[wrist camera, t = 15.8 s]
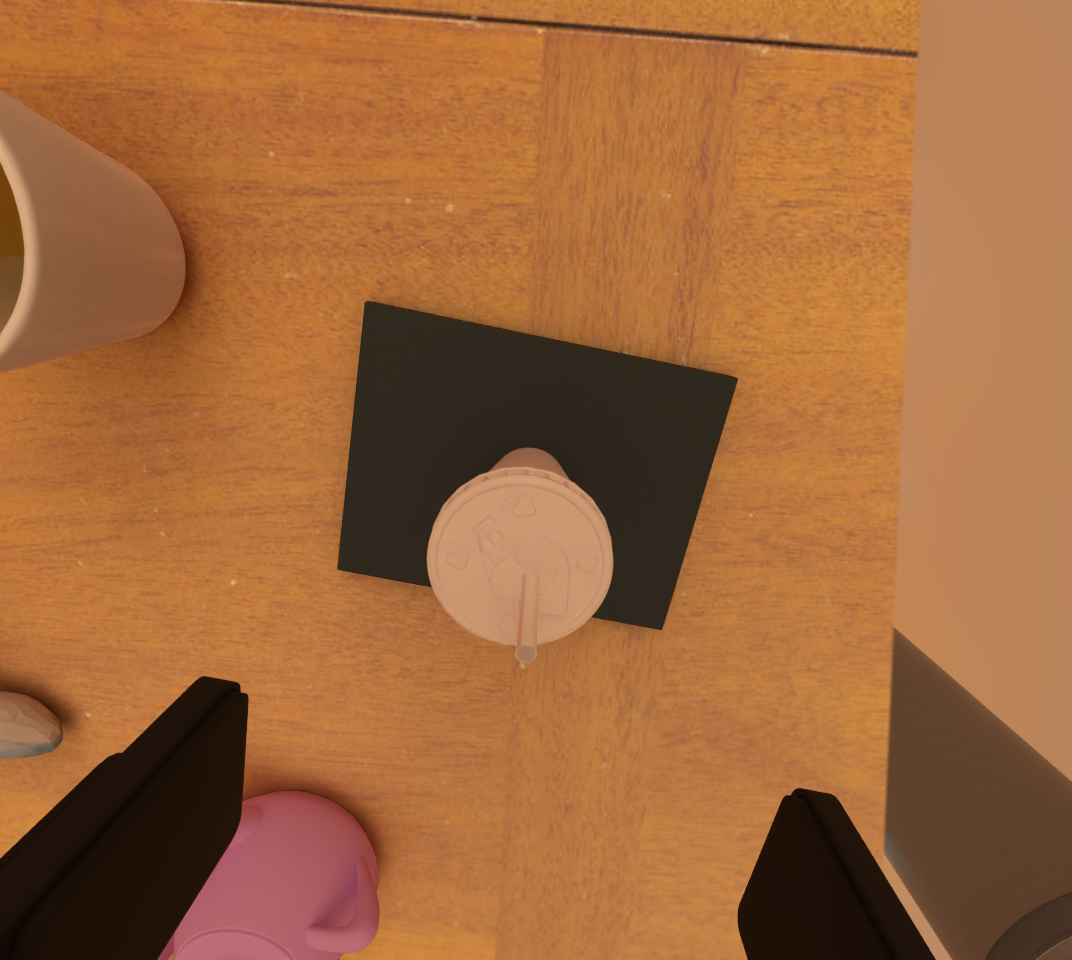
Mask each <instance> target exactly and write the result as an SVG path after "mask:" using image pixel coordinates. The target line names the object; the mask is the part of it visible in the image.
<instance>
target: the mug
mask: <svg viewBox="0 0 1072 960" xmlns="http://www.w3.org/2000/svg"><path fill="white" fill-rule="evenodd" d="M185 270H186V263H185V253H184V248H183V243H182V240H181V237H180V234H179V231H178V228H177V226H176V224H175V222H174V220H173V218H172V216H171V214H170V212H169V210H168V209H167V207H166V205H165V204H164V202H163V201H162V199H161V198H160V197H159V195H158V194H157V193H156V192H155V191H154V190H153V188H152V187H151V186H150V185H149V184H147V183H146V182H145V181H144V180H143V179H142V178H141V177H140V176H138V175H137V174H136V173H135V172H133V171H132V170H131V169H129V168H128V167H126V166H124V165H123V164H121V163H119V162H118V161H116V160H114V159H113V158H111V157H109V156H107V155H106V154H104V153H102V152H101V151H99V150H97V149H95V148H94V147H92V146H90V145H89V144H87V143H85V142H84V141H82V140H81V139H79V138H77V137H76V136H74V135H72V134H71V133H69V132H68V131H66V130H64V129H63V128H61V127H59V126H58V125H56V124H54V123H53V122H51V121H50V120H48V119H46V118H45V117H43V116H41V115H40V114H38V113H37V112H35V111H33V110H32V109H30V108H28V107H27V106H25V105H24V104H22V103H20V102H19V101H17V100H16V99H14V98H12V97H11V96H9V95H8V94H6V93H4V92H3V91H1V90H0V373H3V372H7V371H11V370H15V369H19V368H23V367H27V366H31V365H34V364H38V363H42V362H45V361H49V360H52V359H56V358H60V357H64V356H68V355H72V354H76V353H79V352H83V351H87V350H91V349H94V348H98V347H102V346H106V345H110V344H113V343H117V342H122V341H126V340H130V339H134V338H137V337H140V336H142V335H145V334H147V333H149V332H151V331H153V330H154V329H156V328H157V327H159V326H160V325H161V324H162V323H163V322H164V321H165V320H166V319H167V318H168V317H169V316H170V315H171V313H172V312H173V311H174V309H175V307H176V305H177V304H178V302H179V299H180V297H181V294H182V291H183V287H184V282H185Z"/></svg>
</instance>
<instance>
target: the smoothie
mask: <svg viewBox="0 0 1072 960" xmlns="http://www.w3.org/2000/svg"><path fill="white" fill-rule="evenodd" d="M427 568H428V575H429V579H430V583H431V586H432V588H433V591H434V593H435V595H436V597H437V599H438V601H439V602H440V604H441V605H442V607H443V608H444V609H445V611H446V612H447V613H448V614H449V615H450V616H451V617H452V618H453V619H454V620H455V621H456V622H457V623H458V624H459V625H461V626H462V627H463V628H465V629H466V630H468V631H469V632H471V633H473V634H475V635H477V636H479V637H481V638H483V639H486V640H488V641H492V642H495V643H499V644H504V645H511V646H516V651H515V655H516V658H517V659H518V660H519V661H520V662H523V663H529V662H532V661H533V660H534V659H535V658H536V655H537V645H540V644H544V643H548V642H551V641H555V640H557V639H560V638H562V637H564V636H566V635H568V634H570V633H572V632H573V631H575V630H576V629H578V628H579V627H581V626H582V625H583V624H584V623H586V622H587V621H588V620H589V619H590V618H591V617H592V615H593V614H594V613H595V612H596V611H597V609H598V608H599V606H600V605H601V604H602V602H603V600H604V598H605V596H606V594H607V591H608V589H609V586H610V583H611V579H612V573H613V551H612V540H611V536H610V533H609V530H608V527H607V523H606V520H605V518H604V516H603V514H602V513H601V511H600V510H599V508H598V507H597V505H596V504H595V502H594V501H593V499H592V498H591V497H590V496H589V495H588V494H586V493H585V492H584V491H583V490H582V489H581V488H580V487H579V486H577V485H576V484H575V483H574V482H572V481H570V480H569V478H568V477H567V475H566V473H565V472H564V470H563V469H562V467H561V466H560V464H559V463H558V462H557V460H556V459H555V458H554V457H553V456H551V455H550V454H549V453H547V452H545V451H543V450H540V449H536V448H520V449H517V450H514V451H512V452H510V453H508V454H507V455H505V456H504V457H503V458H502V459H501V460H500V461H499V462H498V463H497V464H496V465H495V466H494V467H493V468H492V469H491V470H490V471H489V472H487V473H484V474H480V475H478V476H477V477H475V478H473V479H472V480H470V481H469V482H467V483H466V484H464V485H462V486H461V487H459V488H458V489H457V490H456V491H455V493H454V494H453V495H452V496H451V497H450V498H449V499H448V500H447V501H446V502H445V504H444V505H443V506H442V508H441V511H440V513H439V515H438V517H437V519H436V521H435V523H434V525H433V530H432V533H431V536H430V539H429V544H428V549H427Z"/></svg>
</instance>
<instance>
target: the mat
mask: <svg viewBox="0 0 1072 960" xmlns="http://www.w3.org/2000/svg"><path fill="white" fill-rule="evenodd" d="M737 381H738V378H736V377H733V376H728V375H724V374H719V373H714V372H709V371H704V370H699V369H695V368H690V367H685V366H680V365H675V364H670V363H666V362H661V361H656V360H651V359H646V358H641V357H637V356H632V355H627V354H622V353H617V352H612V351H608V350H603V349H598V348H593V347H588V346H583V345H579V344H574V343H569V342H564V341H559V340H554V339H550V338H545V337H540V336H535V335H530V334H525V333H521V332H516V331H511V330H506V329H501V328H496V327H492V326H487V325H482V324H477V323H472V322H467V321H463V320H458V319H453V318H448V317H443V316H438V315H434V314H429V313H424V312H419V311H414V310H409V309H405V308H400V307H395V306H390V305H385V304H380V303H376V302H370V301H366V302H365V307H364V317H363V326H362V336H361V346H360V355H359V365H358V375H357V384H356V394H355V404H354V413H353V423H352V433H351V442H350V452H349V462H348V471H347V481H346V491H345V500H344V510H343V520H342V529H341V539H340V549H339V558H338V570H342V571H347V572H353V573H358V574H363V575H369V576H374V577H379V578H385V579H390V580H396V581H401V582H406V583H412V584H417V585H422V586H428V587H432V586H431V583H430V579H429V575H428V568H427V549H428V544H429V539H430V536H431V533H432V530H433V525H434V523H435V521H436V519H437V517H438V515H439V513H440V511H441V508H442V506H443V505H444V504H445V502H446V501H447V500H448V499H449V498H450V497H451V496H452V495H453V494H454V493H455V491H456V490H457V489H458V488H459V487H461V486H462V485H464V484H466V483H467V482H469V481H470V480H472V479H473V478H475V477H477V476H478V475H480V474H484V473H487V472H489V471H490V470H491V469H492V468H493V467H494V466H495V465H496V464H497V463H498V462H499V461H500V460H501V459H502V458H503V457H504V456H505V455H507V454H508V453H510V452H512V451H514V450H517V449H520V448H536V449H540V450H543V451H545V452H547V453H549V454H550V455H551V456H553V457H554V458H555V459H556V460H557V462H558V463H559V464H560V466H561V467H562V469H563V470H564V472H565V473H566V475H567V477H568V478H569V480H570V481H572V482H574V483H575V484H576V485H577V486H579V487H580V488H581V489H582V490H583V491H584V492H585V493H586V494H588V495H589V496H590V497H591V498H592V499H593V501H594V502H595V504H596V505H597V507H598V508H599V510H600V511H601V513H602V514H603V516H604V518H605V520H606V523H607V527H608V530H609V533H610V536H611V540H612V551H613V573H612V579H611V583H610V586H609V589H608V591H607V594H606V596H605V598H604V600H603V602H602V604H601V605H600V606H599V608H598V609H597V611H596V612H595V613H594V614H593V615H592V617H594V618H599V619H605V620H610V621H615V622H621V623H626V624H631V625H637V626H642V627H648V628H653V629H658V630H662V628H663V625H664V622H665V619H666V615H667V612H668V609H669V605H670V602H671V599H672V595H673V592H674V589H675V586H676V582H677V579H678V576H679V572H680V569H681V566H682V562H683V559H684V556H685V552H686V549H687V546H688V543H689V539H690V536H691V533H692V529H693V526H694V523H695V519H696V516H697V513H698V510H699V506H700V503H701V500H702V496H703V493H704V490H705V486H706V483H707V480H708V476H709V473H710V470H711V467H712V463H713V460H714V457H715V453H716V450H717V447H718V443H719V440H720V437H721V433H722V430H723V427H724V424H725V420H726V417H727V414H728V410H729V407H730V404H731V400H732V397H733V394H734V391H735V387H736V384H737Z"/></svg>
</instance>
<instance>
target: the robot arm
mask: <svg viewBox="0 0 1072 960" xmlns="http://www.w3.org/2000/svg"><path fill="white" fill-rule="evenodd" d="M247 717H248V695H247V694H245V693H241V690H240V685H239V683H237V682H233V681H228V680H222V679H217V678H212V677H207V676H203V677H200V678H199V679H198V680H196V681H195V682H194V683H193V684H192V685H191V686H190V687H189V688H188V689H187V690H186V691H185V692H184V693H183V694H182V695H181V696H180V697H179V698H178V699H177V700H176V701H175V702H174V703H173V704H172V705H171V706H170V707H168V708H167V709H166V710H165V711H164V712H163V713H162V714H161V715H160V716H159V717H158V718H157V719H156V720H155V721H154V722H153V723H152V724H151V725H150V726H149V727H148V728H147V729H146V730H145V731H144V732H143V733H142V734H141V735H140V736H139V737H138V738H137V739H136V740H135V741H134V742H133V743H132V744H131V745H130V746H129V747H128V748H127V749H126V750H125V751H124V752H123V753H116V754H114V755H111V756H109V757H108V758H106V759H105V760H104V761H103V762H101V763H100V764H99V765H98V766H97V767H96V768H95V769H93V770H92V771H91V772H90V773H89V774H88V775H87V776H86V777H85V778H84V779H83V780H82V781H81V782H80V783H79V784H78V785H77V786H76V787H75V788H74V789H73V790H72V791H71V792H69V793H68V794H67V795H66V796H65V797H64V798H63V799H62V800H61V801H60V802H59V803H58V804H57V805H56V806H55V807H54V808H53V809H52V810H51V811H50V812H49V813H48V814H46V815H45V816H44V817H43V818H42V819H41V820H40V821H39V822H38V823H37V824H36V825H35V826H34V827H33V828H32V829H31V830H30V831H29V832H28V833H27V834H26V835H25V836H23V837H22V838H21V839H20V840H19V841H18V842H17V843H16V844H15V845H14V846H13V847H12V848H11V849H10V850H9V851H8V852H7V853H6V854H5V855H4V856H3V857H2V858H0V960H158V958H159V956H160V955H161V953H162V952H163V950H164V948H165V947H166V945H167V944H168V942H169V940H170V939H171V937H172V936H173V934H174V933H175V931H176V929H177V928H178V926H179V925H180V923H181V921H182V920H183V918H184V917H185V915H186V913H187V912H188V910H189V909H190V907H191V905H192V904H193V902H194V901H195V899H196V897H197V896H198V894H199V893H200V891H201V889H202V888H203V886H204V885H205V883H206V882H207V880H208V878H209V877H210V875H211V874H212V872H213V870H214V869H215V867H216V866H217V864H218V862H219V861H220V859H221V858H222V856H223V854H224V853H225V851H226V850H227V848H228V846H229V845H230V843H231V842H232V840H233V838H234V836H235V834H236V832H237V829H238V826H239V823H240V820H241V814H242V798H243V782H244V766H245V750H246V733H247ZM738 928H739V932H740V936H741V939H742V942H743V946H744V949H745V952H746V955H747V959H748V960H936V959H935V957H934V956H933V954H932V953H931V951H930V950H929V948H928V946H927V944H926V943H925V941H924V940H923V938H922V936H921V935H920V933H919V931H918V930H917V928H916V926H915V925H914V923H913V921H912V920H911V918H910V916H909V915H908V913H907V912H906V910H905V908H904V907H903V905H902V903H901V902H900V900H899V899H898V897H897V895H896V894H895V892H894V890H893V889H892V887H891V885H890V884H889V882H888V880H887V879H886V877H885V875H884V874H883V872H882V871H881V869H880V867H879V866H878V864H877V862H876V861H875V859H874V857H873V856H872V854H871V852H870V851H869V849H868V848H867V846H866V844H865V843H864V841H863V839H862V838H861V836H860V834H859V833H858V831H857V830H856V828H855V826H854V825H853V823H852V821H851V820H850V818H849V816H848V815H847V813H846V811H845V810H844V808H843V807H842V805H841V803H840V802H839V801H838V799H837V798H836V797H835V796H833V795H832V794H828V793H823V792H818V791H813V790H807V789H802V788H797V789H795V790H794V791H793V792H792V794H791V796H789V795H786V796H785V797H784V798H783V800H782V801H781V804H780V806H779V809H778V811H777V814H776V816H775V818H774V821H773V823H772V826H771V828H770V831H769V833H768V836H767V838H766V841H765V843H764V845H763V848H762V850H761V853H760V855H759V858H758V860H757V863H756V865H755V867H754V870H753V872H752V875H751V877H750V880H749V882H748V885H747V887H746V890H745V892H744V894H743V897H742V899H741V902H740V904H739V908H738Z"/></svg>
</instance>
